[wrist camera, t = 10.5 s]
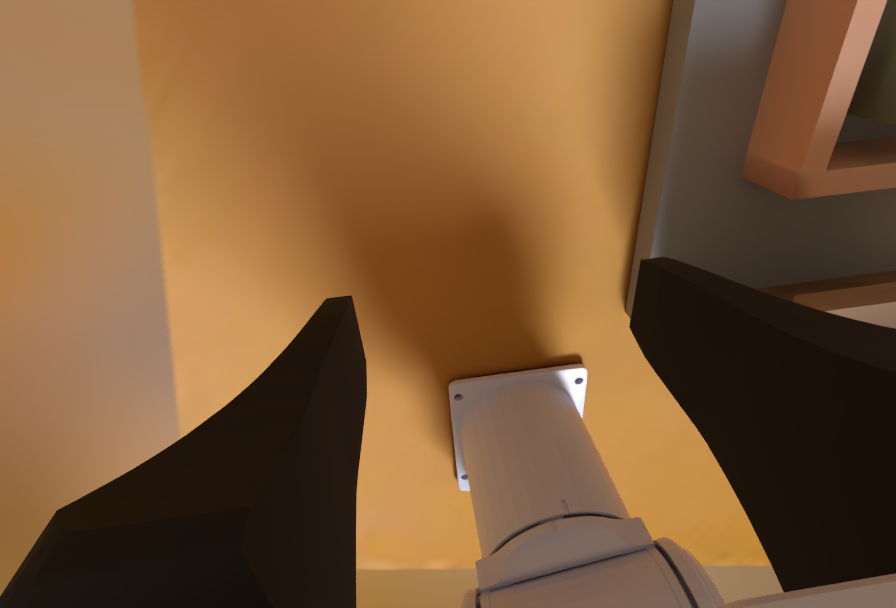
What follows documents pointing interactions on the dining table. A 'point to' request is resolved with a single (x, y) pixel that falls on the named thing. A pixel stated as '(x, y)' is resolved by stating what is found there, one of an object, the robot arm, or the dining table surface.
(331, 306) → the robot arm
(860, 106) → the peg
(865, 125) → the socket stand
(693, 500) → the dining table surface
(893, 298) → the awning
